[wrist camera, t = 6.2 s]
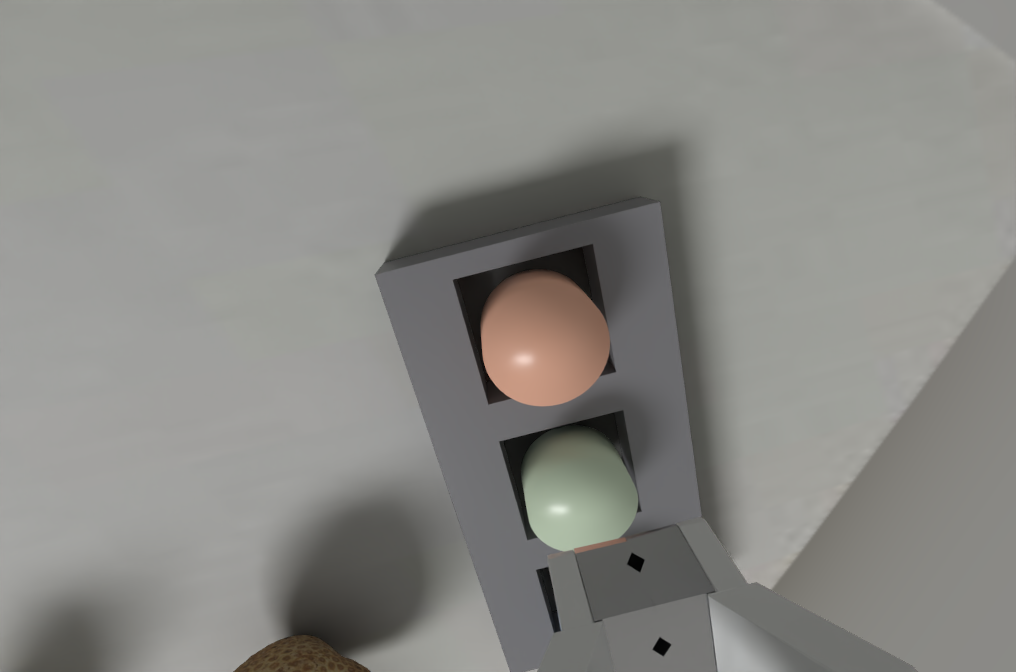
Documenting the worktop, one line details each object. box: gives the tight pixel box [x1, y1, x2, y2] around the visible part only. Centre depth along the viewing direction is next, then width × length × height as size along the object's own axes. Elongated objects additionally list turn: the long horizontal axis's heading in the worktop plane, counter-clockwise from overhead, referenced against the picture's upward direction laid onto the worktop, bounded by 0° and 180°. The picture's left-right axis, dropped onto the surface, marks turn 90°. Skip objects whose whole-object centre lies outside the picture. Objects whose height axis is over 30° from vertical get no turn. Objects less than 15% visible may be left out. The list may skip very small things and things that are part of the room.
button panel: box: [375, 197, 702, 672], centre depth 26 cm, size 24×12×2 cm, turn 14°
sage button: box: [521, 425, 638, 551], centre depth 24 cm, size 5×5×3 cm
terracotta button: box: [480, 269, 610, 406], centre depth 21 cm, size 5×5×3 cm
